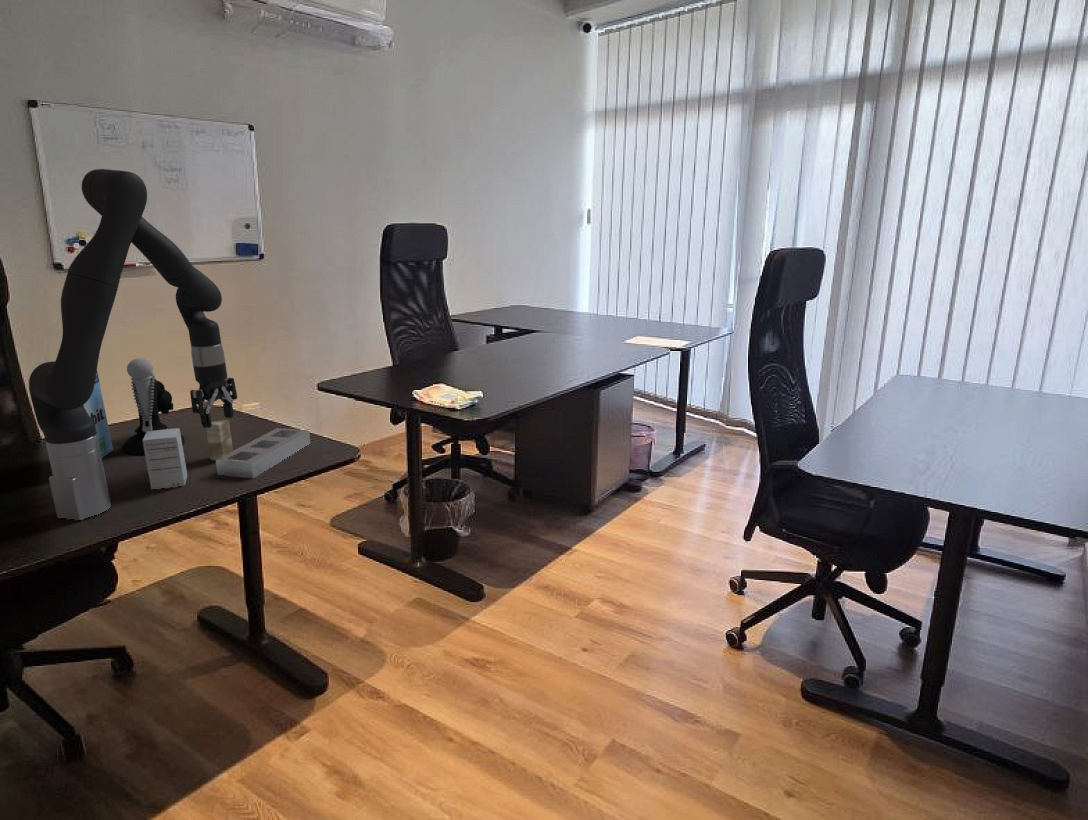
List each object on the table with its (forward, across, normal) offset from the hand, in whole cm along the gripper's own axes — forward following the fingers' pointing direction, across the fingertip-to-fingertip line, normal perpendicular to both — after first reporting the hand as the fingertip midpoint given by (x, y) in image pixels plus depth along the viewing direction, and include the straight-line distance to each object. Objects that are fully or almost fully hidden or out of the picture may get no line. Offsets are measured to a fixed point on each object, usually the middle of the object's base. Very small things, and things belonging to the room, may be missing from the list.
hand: (218, 422), depth 184 cm
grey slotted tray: (+10, +2, -12) cm, 15 cm away
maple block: (+10, 0, 0) cm, 10 cm away
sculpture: (+10, +8, +27) cm, 30 cm away
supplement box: (+10, -18, +1) cm, 21 cm away
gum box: (+10, -12, +32) cm, 36 cm away
